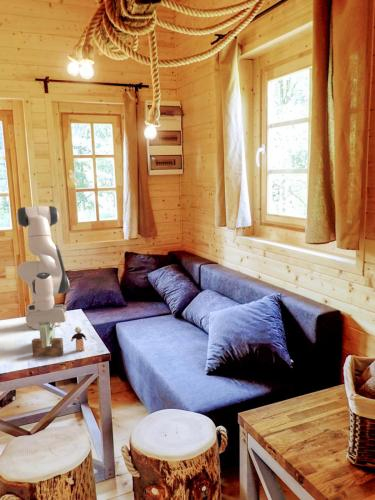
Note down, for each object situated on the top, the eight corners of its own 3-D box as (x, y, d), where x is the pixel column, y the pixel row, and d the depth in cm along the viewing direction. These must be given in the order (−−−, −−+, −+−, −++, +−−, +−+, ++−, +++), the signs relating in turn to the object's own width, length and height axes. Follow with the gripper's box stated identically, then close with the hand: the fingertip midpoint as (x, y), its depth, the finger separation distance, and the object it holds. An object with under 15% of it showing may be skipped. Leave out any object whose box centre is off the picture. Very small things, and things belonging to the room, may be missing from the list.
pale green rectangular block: (49, 339, 229) (48, 318, 227) (55, 339, 229) (53, 318, 228) (41, 349, 216) (39, 327, 214) (47, 349, 216) (45, 326, 214)
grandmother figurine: (86, 347, 218) (84, 323, 216) (88, 350, 214) (86, 326, 212) (70, 350, 214) (69, 326, 212) (72, 353, 211) (71, 328, 209)
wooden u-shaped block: (33, 356, 208) (31, 340, 207) (35, 354, 211) (33, 338, 210) (61, 355, 208) (60, 340, 207) (63, 353, 211) (62, 337, 210)
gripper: (67, 302, 222) (69, 328, 225) (27, 303, 222) (30, 328, 224) (64, 306, 216) (65, 332, 218) (23, 306, 216) (25, 333, 218)
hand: (47, 330), depth 221 cm, fingers closed on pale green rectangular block, 3 cm apart
